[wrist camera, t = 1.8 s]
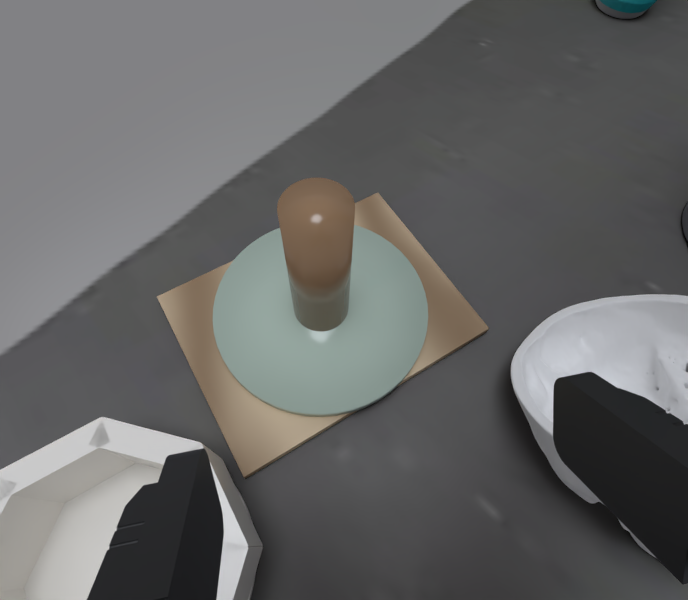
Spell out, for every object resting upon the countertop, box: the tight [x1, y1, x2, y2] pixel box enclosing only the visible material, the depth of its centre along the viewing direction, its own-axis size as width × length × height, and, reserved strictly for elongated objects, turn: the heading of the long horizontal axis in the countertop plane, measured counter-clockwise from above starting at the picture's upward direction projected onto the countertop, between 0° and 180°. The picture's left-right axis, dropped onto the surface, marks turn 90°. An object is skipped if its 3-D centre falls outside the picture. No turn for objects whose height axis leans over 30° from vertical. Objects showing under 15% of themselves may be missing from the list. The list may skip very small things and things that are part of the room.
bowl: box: [0, 417, 263, 600], centre depth 20 cm, size 11×11×5 cm
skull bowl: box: [511, 294, 688, 558], centre depth 22 cm, size 10×14×12 cm
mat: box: [157, 193, 489, 479], centre depth 28 cm, size 16×12×1 cm
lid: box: [213, 178, 428, 417], centre depth 23 cm, size 12×12×10 cm
